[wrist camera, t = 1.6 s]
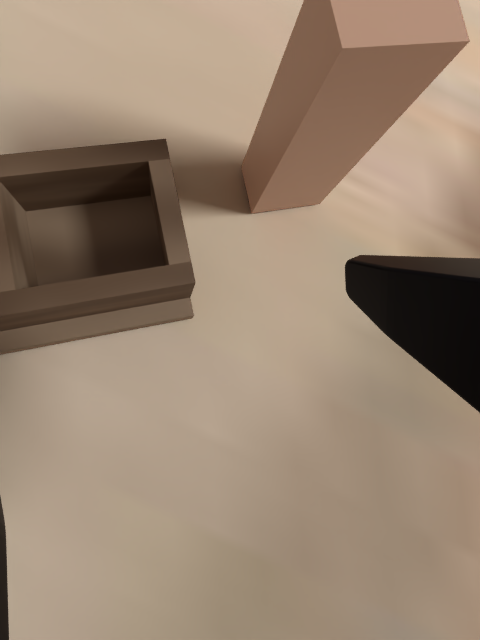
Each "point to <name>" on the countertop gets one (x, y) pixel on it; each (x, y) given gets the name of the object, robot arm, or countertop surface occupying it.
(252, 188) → the clay block
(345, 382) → the countertop surface
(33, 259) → the compartment tray
